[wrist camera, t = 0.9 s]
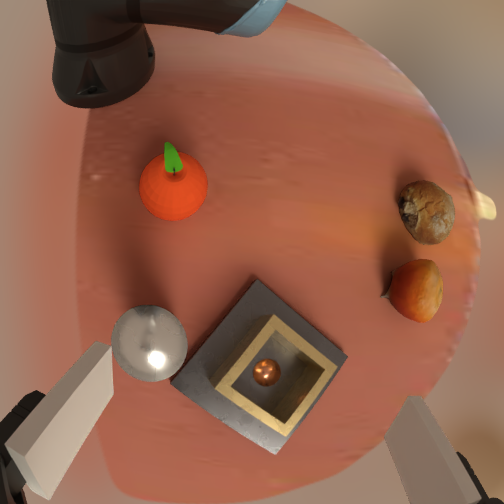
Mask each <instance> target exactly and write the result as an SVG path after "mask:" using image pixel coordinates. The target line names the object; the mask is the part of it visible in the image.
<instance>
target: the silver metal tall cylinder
mask: <svg viewBox="0 0 504 504" xmlns="http://www.w3.org/2000/svg"><path fill="white" fill-rule="evenodd" d="M111 345H112V351H113V354H114V357H115V359H116V361H117V362H118V364H119V365H120V367H121V368H122V369H123V370H124V371H125V372H126V373H128V374H129V375H130V376H132V377H134V378H136V379H139V380H142V381H148V382H155V381H161V380H164V379H166V378H169V377H170V376H172V375H173V374H175V373H176V372H177V371H178V370H179V369H180V367H181V366H182V364H183V362H184V360H185V358H186V354H187V348H188V344H187V336H186V333H185V330H184V328H183V326H182V324H181V323H180V321H179V320H178V319H177V318H176V317H175V316H174V315H173V314H172V313H170V312H169V311H167V310H166V309H163V308H161V307H158V306H154V305H141V306H137V307H134V308H131V309H130V310H128V311H126V312H125V313H124V314H123V315H122V316H121V317H120V318H119V319H118V321H117V322H116V324H115V326H114V329H113V332H112V338H111Z"/></svg>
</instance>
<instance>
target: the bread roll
mask: <svg viewBox="0 0 504 504" xmlns="http://www.w3.org/2000/svg"><path fill="white" fill-rule="evenodd" d="M398 204H399V207H400V208H399V212H400V215H401V218H402V220H403V222H404V224H405V226H406V228H407V229H408V231H409V232H410V233H411V235H412V236H413V238H414V239H415V240H417V241H418V242H419V243H422V244H427V245H434V244H438V243H440V242H442V241H443V240H444V239H445V238H446V237H447V236H448V235H449V233H450V231H451V229H452V226H453V223H454V218H455V208H454V204H453V201H452V197H451V196H450V195H449V194H447V193H446V192H445V191H444V190H443V189H442V188H440V187H439V186H437V185H436V184H435V183H433V182H429V181H416V182H415V183H414V182H413V183H410V184H408V185H407V186H406V187H405V188H404V189H403V191H402V193H401V196H400V199H399V202H398Z"/></svg>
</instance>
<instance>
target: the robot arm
mask: <svg viewBox="0 0 504 504" xmlns="http://www.w3.org/2000/svg"><path fill="white" fill-rule="evenodd" d="M46 1H47V7H48V11H49V16H50V21H51V26H52V30H53V35H54V39H55V43H56V49H55V56H54V64H53V73H52V80H53V84H54V88H55V91H56V93H57V95H58V97H59V98H60V99H61V100H62V101H63V102H64V103H66V104H68V105H70V106H73V107H78V108H98V107H104V106H108V105H111V104H114V103H117V102H120V101H122V100H124V99H126V98H128V97H130V96H131V95H133V94H134V93H136V92H137V91H139V90H140V89H141V88H142V87H143V86H144V85H145V84H146V83H147V82H148V80H149V79H150V77H151V76H152V74H153V71H154V66H155V51H154V47H153V45H152V42H151V40H150V38H149V35H148V33H147V30H146V28H145V26H144V23H145V24H158V25H168V26H177V27H185V28H192V29H198V30H205V31H210V32H214V33H215V34H218V35H220V34H221V35H224V34H229V35H235V36H240V37H253V36H257V35H259V34H261V33H262V32H264V31H265V30H266V29H267V28H268V27H269V26H270V25H271V23H272V22H273V21H274V20H275V18H276V17H277V16H278V14H279V13H280V11H281V9H282V8H283V6H284V5H285V3H286V1H287V0H46ZM113 394H114V392H113V375H112V346H110V345H107V344H104V343H101V342H98V341H95V342H94V343H93V344H92V345H91V347H90V348H89V349H88V350H87V351H86V352H85V353H84V354H83V355H82V356H81V357H80V358H79V360H77V362H76V363H75V364H74V365H73V366H72V367H71V368H70V369H69V370H68V371H67V372H66V374H65V375H64V376H63V377H62V378H61V379H60V380H59V381H58V382H57V383H56V385H55V386H54V387H53V388H52V389H51V390H50V391H49V392H48V394H47V395H45V394H43V393H41V392H39V391H37V390H36V391H33V392H32V393H29V394H27V395H25V396H24V397H23V398H22V399H21V400H20V402H19V403H18V405H16V406H15V407H14V408H13V409H12V411H11V412H9V413H8V414H7V416H6V417H5V418H4V419H3V420H2V421H1V422H0V504H27V501H26V497H25V494H24V491H23V489H22V488H23V486H24V485H25V483H27V485H28V486H29V488H30V489H31V490H32V491H33V492H35V493H37V494H38V495H40V496H42V497H44V498H46V499H47V500H50V498H51V497H52V495H53V493H54V491H55V490H56V488H57V486H58V484H59V483H60V481H61V479H62V478H63V476H64V474H65V472H66V471H67V469H68V467H69V466H70V464H71V462H72V461H73V459H74V457H75V456H76V454H77V452H78V450H79V449H80V447H81V446H82V444H83V442H84V441H85V439H86V437H87V436H88V434H89V433H90V431H91V429H92V428H93V426H94V424H95V423H96V421H97V420H98V418H99V416H100V415H101V413H102V412H103V410H104V409H105V407H106V405H107V404H108V402H109V401H110V399H111V397H112V396H113ZM384 439H385V441H386V443H387V446H388V448H389V451H390V453H391V456H392V458H393V461H394V463H395V466H396V468H397V471H398V473H399V476H400V478H401V481H402V483H403V486H404V488H405V491H406V494H407V496H408V499H409V502H410V504H504V503H503V502H502V501H501V500H500V499H498V498H490V499H489V497H488V496H487V494H486V492H485V490H484V489H483V487H482V485H481V483H480V482H479V480H478V478H477V476H476V475H474V471H473V469H472V468H471V466H470V464H469V463H468V461H467V459H466V458H465V457H464V456H463V455H461V454H460V453H459V452H455V450H454V448H453V447H452V445H451V444H450V442H449V440H448V439H447V437H446V435H445V434H444V432H443V430H442V429H441V427H440V426H439V424H438V422H437V421H436V419H435V418H434V416H433V414H432V413H431V411H430V410H429V408H428V407H427V405H426V403H425V402H424V400H423V399H422V397H421V396H408V397H407V399H406V401H405V403H404V404H403V406H402V408H401V410H400V411H399V413H398V415H397V416H396V418H395V420H394V421H393V423H392V424H391V426H390V428H389V429H388V431H387V432H386V434H385V436H384Z"/></svg>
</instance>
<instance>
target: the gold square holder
mask: <svg viewBox="0 0 504 504" xmlns="http://www.w3.org/2000/svg"><path fill="white" fill-rule="evenodd" d="M347 357H348V356H347V355H346V354H344V353H343V352H342V351H341V350H340V349H338V348H337V347H336V346H335V345H334V344H332V343H331V342H330V341H329V340H328V339H327V338H325V337H324V336H323V335H322V334H321V333H320V332H318V331H317V330H316V329H315V328H314V327H312V326H311V325H310V324H309V323H308V322H307V321H305V320H304V319H303V318H302V317H301V316H300V315H298V314H297V313H296V312H295V311H294V310H293V309H291V308H290V307H289V306H288V305H287V304H286V303H284V302H283V301H282V300H281V299H280V298H279V297H277V296H276V295H275V294H274V293H273V292H272V291H271V290H269V289H268V288H267V287H266V286H265V285H264V284H262V283H261V282H260V281H259V280H258V279H256V280H255V281H254V282H253V283H252V284H251V285H250V287H249V288H248V289H247V290H246V292H245V293H244V294H243V295H242V297H241V298H240V299H239V300H238V301H237V303H236V304H235V305H234V306H233V307H232V309H231V310H230V311H229V312H228V314H227V315H226V316H225V317H224V318H223V320H222V321H221V322H220V323H219V324H218V326H217V327H216V328H215V329H214V330H213V332H212V333H211V334H210V335H209V336H208V338H207V339H206V340H205V341H204V342H203V344H202V345H201V346H200V347H199V348H198V350H197V351H196V352H195V353H194V354H193V356H192V357H191V358H190V359H189V360H188V362H187V363H186V364H185V365H184V366H183V368H182V369H181V370H180V371H179V372H178V373H177V375H176V376H175V377H174V378H173V379H172V381H171V382H170V384H171V385H173V386H174V387H175V388H176V389H178V390H179V391H180V392H182V393H183V394H184V395H186V396H187V397H188V398H190V399H191V400H192V401H194V402H195V403H196V404H198V405H199V406H201V407H202V408H203V409H205V410H206V411H208V412H209V413H210V414H212V415H213V416H215V417H216V418H218V419H219V420H221V421H222V422H224V423H225V424H226V425H228V426H230V427H231V428H233V429H234V430H236V431H237V432H239V433H240V434H242V435H243V436H245V437H247V438H248V439H250V440H252V441H253V442H255V443H256V444H258V445H260V446H261V447H263V448H265V449H267V450H268V451H270V452H272V453H273V454H276V453H277V452H278V451H279V450H280V449H281V447H282V446H283V445H284V444H285V443H286V441H287V440H288V439H289V438H290V436H291V435H292V434H293V433H294V431H295V430H296V429H297V428H298V426H299V425H300V424H301V422H302V421H303V420H304V419H305V417H306V416H307V415H308V413H309V412H310V411H311V409H312V408H313V407H314V405H315V404H316V402H317V401H318V400H319V398H320V397H321V396H322V394H323V393H324V391H325V390H326V389H327V387H328V386H329V384H330V383H331V381H332V380H333V378H334V377H335V375H336V374H337V373H338V371H339V370H340V368H341V366H342V365H343V363H344V362H345V360H346V359H347Z"/></svg>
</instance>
